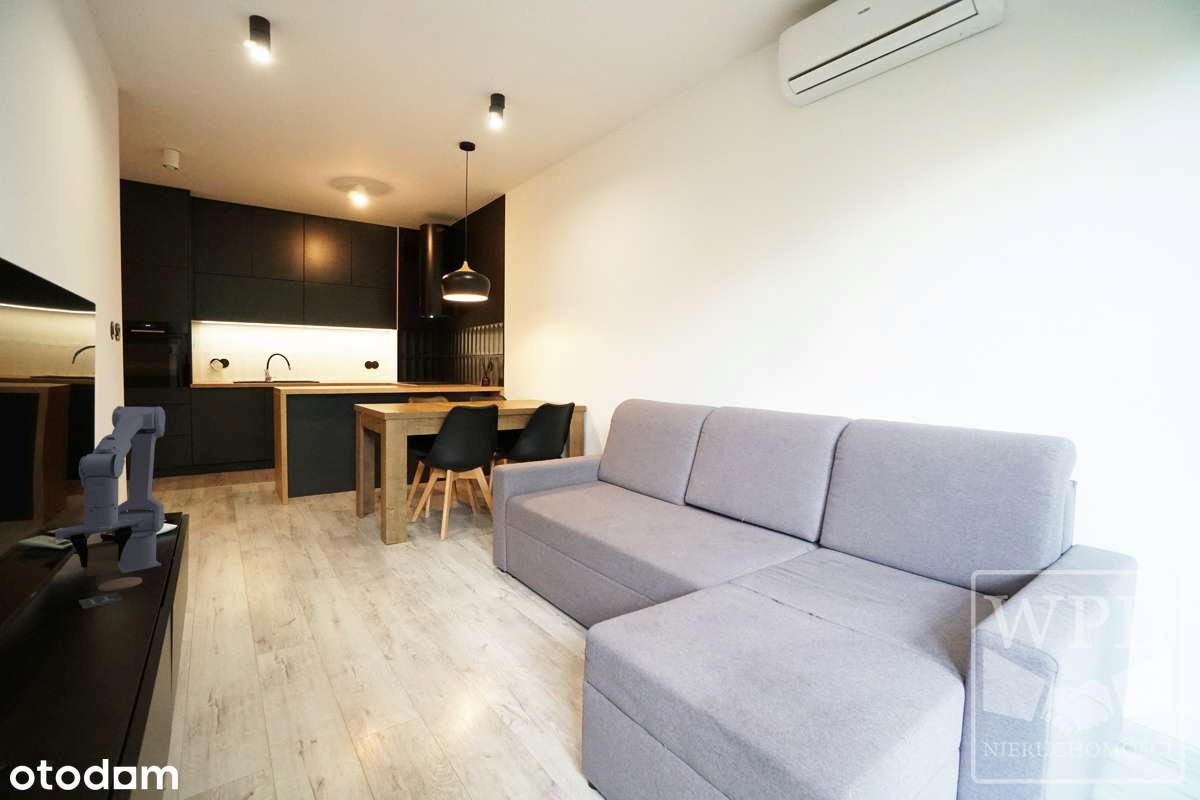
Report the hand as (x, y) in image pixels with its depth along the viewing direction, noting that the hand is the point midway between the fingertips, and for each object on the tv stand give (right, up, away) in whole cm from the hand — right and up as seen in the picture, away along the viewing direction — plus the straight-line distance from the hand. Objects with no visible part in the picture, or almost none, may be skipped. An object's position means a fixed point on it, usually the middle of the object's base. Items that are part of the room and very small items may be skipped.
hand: (100, 563), depth 120 cm
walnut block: (0, -2, 0) cm, 2 cm away
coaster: (-4, -9, +9) cm, 13 cm away
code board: (0, -9, 0) cm, 9 cm away
